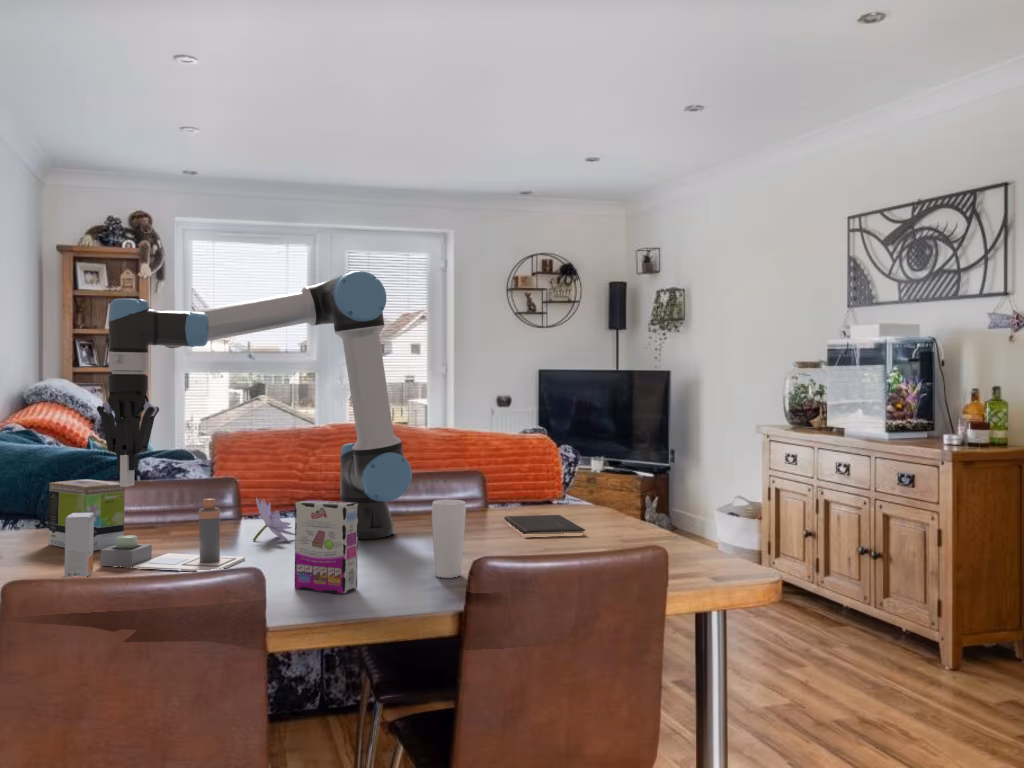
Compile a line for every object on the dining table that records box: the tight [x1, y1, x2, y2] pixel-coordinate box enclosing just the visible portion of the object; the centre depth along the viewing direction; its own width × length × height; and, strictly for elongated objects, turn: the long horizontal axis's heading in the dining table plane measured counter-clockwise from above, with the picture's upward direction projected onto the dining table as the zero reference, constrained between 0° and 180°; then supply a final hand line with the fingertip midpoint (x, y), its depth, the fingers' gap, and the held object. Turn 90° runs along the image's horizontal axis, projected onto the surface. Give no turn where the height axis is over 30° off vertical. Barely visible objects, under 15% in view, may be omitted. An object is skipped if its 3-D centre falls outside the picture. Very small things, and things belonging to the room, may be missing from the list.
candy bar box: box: [294, 499, 359, 595], centre depth 162 cm, size 11×5×16 cm, turn 69°
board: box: [133, 552, 246, 571], centre depth 181 cm, size 18×13×1 cm
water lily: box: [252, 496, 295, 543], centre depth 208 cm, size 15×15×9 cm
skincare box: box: [63, 513, 94, 577], centre depth 170 cm, size 6×4×12 cm
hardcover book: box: [503, 514, 586, 534], centre depth 228 cm, size 16×23×2 cm
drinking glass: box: [431, 499, 467, 579], centre depth 174 cm, size 7×7×15 cm
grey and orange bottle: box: [198, 498, 221, 563], centre depth 180 cm, size 4×4×13 cm
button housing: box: [100, 543, 153, 568], centre depth 180 cm, size 7×7×4 cm
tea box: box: [48, 478, 126, 552], centre depth 198 cm, size 15×10×15 cm, turn 57°
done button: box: [116, 534, 138, 549], centre depth 180 cm, size 4×4×2 cm
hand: (127, 485), depth 180 cm, fingers closed
